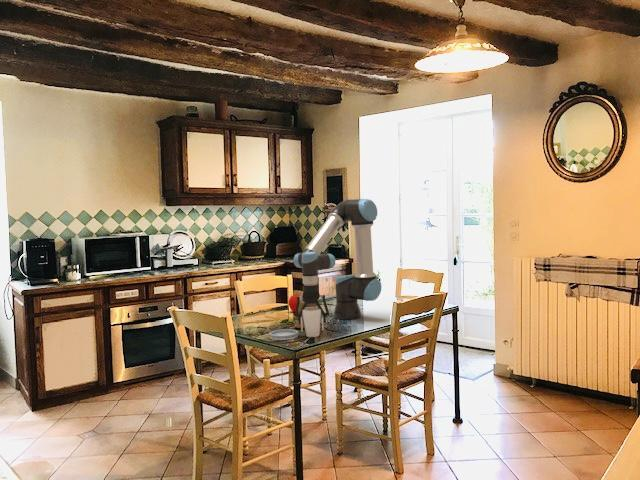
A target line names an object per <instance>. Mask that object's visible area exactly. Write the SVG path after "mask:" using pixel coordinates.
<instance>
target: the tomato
mask: <svg viewBox="0 0 640 480" xmlns="http://www.w3.org/2000/svg"><path fill="white" fill-rule="evenodd" d="M302 295H303V294H302V293H299V294H298V293H295V294H293V295H291V296H290V298H289V299H288V307H289V309H290V310H291V311H292V312H293V313H295V310H296V305H297V296H302Z"/></svg>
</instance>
